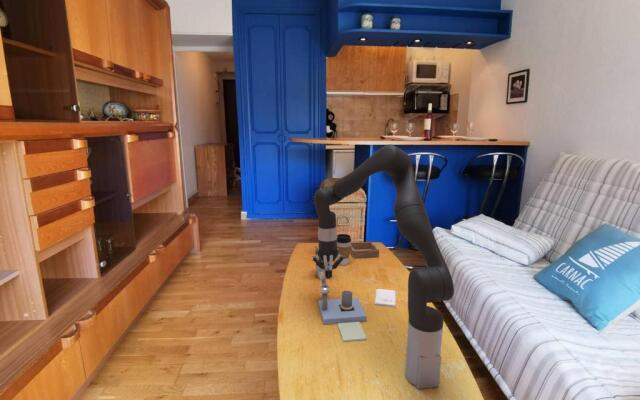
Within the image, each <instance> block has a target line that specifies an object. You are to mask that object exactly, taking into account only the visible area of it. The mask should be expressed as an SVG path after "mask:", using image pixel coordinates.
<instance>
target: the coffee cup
mask: <svg viewBox="0 0 640 400" xmlns="http://www.w3.org/2000/svg"><path fill="white" fill-rule="evenodd" d="M350 243H352V238H351V235H349V234H347V233H346V234H345V233H341V234H337V250H338V252H339V254H340V255H343V258H344V259H343V260H342V262H341V263H340V264H339V265H338V266H347V265H349V263H350V262H349V259H350ZM337 257H338V256H337ZM337 257H336V258H337Z"/></svg>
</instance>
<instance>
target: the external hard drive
mask: <svg viewBox="0 0 640 400" xmlns="http://www.w3.org/2000/svg"><path fill="white" fill-rule="evenodd" d="M375 290H376V291H375V296H374V297H375V299H374V305H375V306H378V307H379V306H380V307H389V308H396V305H397V304H396V302H397V301H396V298H397V297H396V296H397V292H396V290H393V289H383V288H376V289H375Z"/></svg>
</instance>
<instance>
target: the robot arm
mask: <svg viewBox="0 0 640 400" xmlns="http://www.w3.org/2000/svg"><path fill="white" fill-rule="evenodd" d="M380 172H383V173H384V174H387V175H388V176H390V177H391V179H392V181H393V184H394V188H395V190H396V191H395V192H396V195H395V196H396V197H395V199H394V200H395V201H394V205H393V212H394V217H395V221H396V225H397V227H398V228H397V229H398V230H399V232H400V233H401V234H402V236H403V237H404V238H405V239H406V240H407V241H408V242H409V243H410V244H411V245H412V247H414V248H415V249H416V250H417V251H418V252H419V253H420V254H421V256H422V257H423V259H424V261H425V264H426V266H427V267H417V268H416V267H415V268H413V269H411V271H410V272H409V275H408V279H407V312H408V321H407V322H408V323H407V336H406V354H405V369H404V374H405V375H404V376H405V378H406V380H407V382H409V383H410V384H412V385H414V386H415V387H416V388H417V389H418V390H421V389H432V388H439V386H440V376H441V367H442V365H441V364H442V356H441V354H442V343H443V341H442V340H443V332H444V331H443V330H444V316H443V314H442V312H440V311H439V310H438V309H436V308H434V307H433V306H429V305H428V304H431V303H437V302H438V303H439V302H447V301H450V300H451V299H453V297H454V294H455V285H454V280H453V277H452V274H451V272H450V268H449V267H448V265H447V262H446V260H445V258H444V257H443V254H442V252H441V249H440V247H439V245H438V242H437V240H436V237H435V234H434V231H433V228H432V224H431V222H430V219H429V215H428V212H427V210H426V206H425V204H424V202H423V199H422V196H421V192H420V190H419V188H418V187H419V186H418V185H417V181H416V177H415V173H414V172H415V171H414V168H413V162H412V159H411V156H410V155H409V154H408V153H407V152H405V151H404V150H403V149H401V148H399V147H397V146H396V145H393V144H386V145H384V146H382V147H380V148H379V149H378V150H376V151H375V152H374V153H373V154H372V155H371V156H369V157H368V158H367V159H365V161H363V162H362V163H361V164H360V165H359V166H358V167H356V168H355V169H354V170H352V171H351V172H349V173H348V174H346V175H344V176H343V177H341V178H339V179H337V180H336V181H335V182H334V183H333V185H331V186H328V187H325V188H321V189H318V190H316V191H315V192H314V195H313V203H314V207H315V210H316V215H317V219H318V220H317V221H318V222H317V223H318V228H317V229H318V230H317V240H318V247H317V248H318V253H317V255H315V254H314V255H312V256H313V257H312V260H314V261H313V262H314V263H315V265H316V264H317V265H318V266H319V267H320V268H321V269H324V270H325V277H327V278H326V280H328V279H329V280H330V279H331V278H332V277H333V270H336V269H337V268H338V266H340V265H339V264H340V263H341V262H342V260H343V259H344V258H343V255H340V254H339V252H338V250H337V235H338V231H337V229H338V228H337V217H336V213H335V211H331V208H330V206H333V205H335V204H337V203H338V202H340V201H342V200H343V199H344V198H347V197H349V196H351V195H353V194H355V193H356V192H358V191H359V190H361V189H362V188H363V186H364V185H365V183H366V181H367V180H368V179H369V177H371V176H372V175H374V174H378V173H380ZM337 256H338V257H337ZM319 257H320V259H321V260H322V261H323V262H324V265H323V264H322V263H321V262H320V261H319ZM333 261H335V262H334V263H333ZM327 262H329V270H328V264H327Z"/></svg>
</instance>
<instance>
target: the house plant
mask: <svg viewBox="0 0 640 400" xmlns="http://www.w3.org/2000/svg"><path fill="white" fill-rule="evenodd" d="M312 246H313V247H314V249H315V251H314V255H311V257H312V258H313V256H315V255H317V253H318V250H319V247H317V246H316V245H314V244H312ZM311 261H312V262H314V260H313V259H312V260H311ZM319 261H320V262H321V263H322V264H323V265H324V262H323V261H322V260H321V259H320V257H319ZM334 261H335V260H334ZM334 261H333V262H334ZM333 262H332V263H333ZM334 263H335V262H334ZM327 264H328V270H329V262H327ZM315 270H316V276H317V278H318V279H320V276H319V272H324V275H325V270H324V269H321V268H320V267H319V266H318V265H317V264H316V263H315ZM325 279H327V277H325Z"/></svg>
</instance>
